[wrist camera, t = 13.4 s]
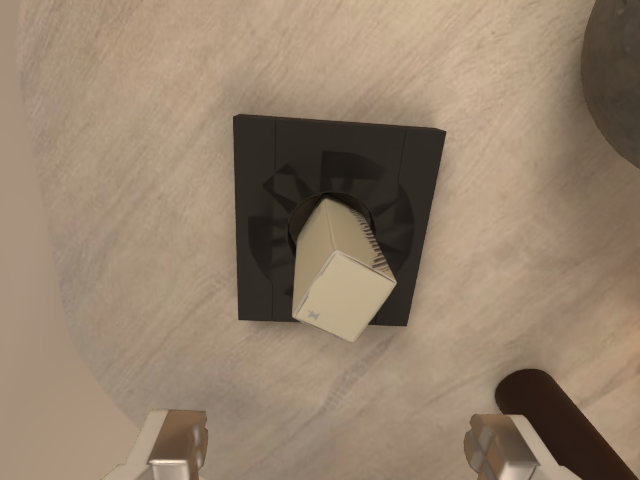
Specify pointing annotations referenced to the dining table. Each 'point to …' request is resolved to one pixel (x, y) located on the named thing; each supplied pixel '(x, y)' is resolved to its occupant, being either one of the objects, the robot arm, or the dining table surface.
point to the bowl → (614, 73)
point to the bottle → (560, 426)
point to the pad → (334, 177)
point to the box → (339, 271)
